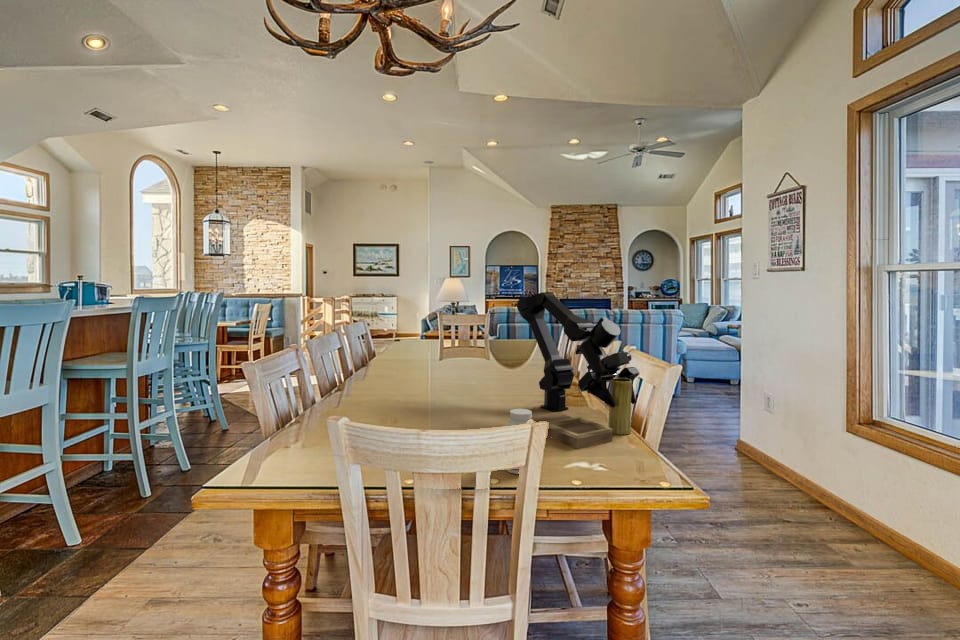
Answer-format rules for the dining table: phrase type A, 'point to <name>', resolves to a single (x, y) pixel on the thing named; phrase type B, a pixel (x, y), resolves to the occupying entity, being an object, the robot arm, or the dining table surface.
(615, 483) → the dining table surface
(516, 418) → the supplement bottle
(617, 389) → the vase
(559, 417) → the wooden tray
